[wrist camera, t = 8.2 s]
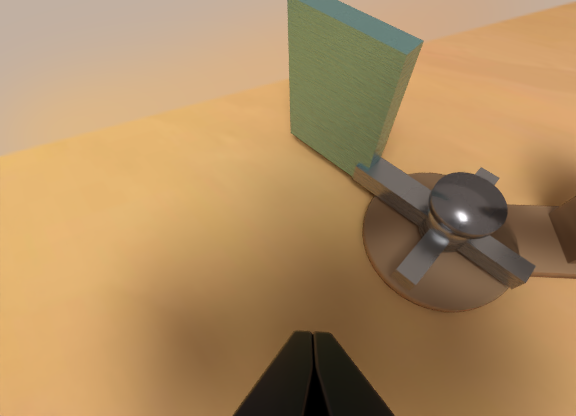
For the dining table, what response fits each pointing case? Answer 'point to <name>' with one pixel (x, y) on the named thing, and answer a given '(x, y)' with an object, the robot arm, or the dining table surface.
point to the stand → (461, 270)
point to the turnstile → (386, 135)
